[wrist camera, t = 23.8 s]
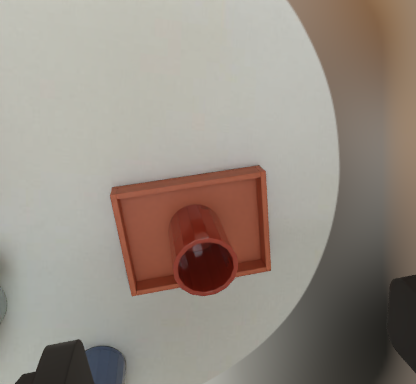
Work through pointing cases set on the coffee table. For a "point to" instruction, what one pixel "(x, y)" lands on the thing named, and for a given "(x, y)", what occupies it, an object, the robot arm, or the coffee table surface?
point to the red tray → (181, 197)
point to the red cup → (201, 251)
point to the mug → (2, 304)
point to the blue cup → (106, 365)
